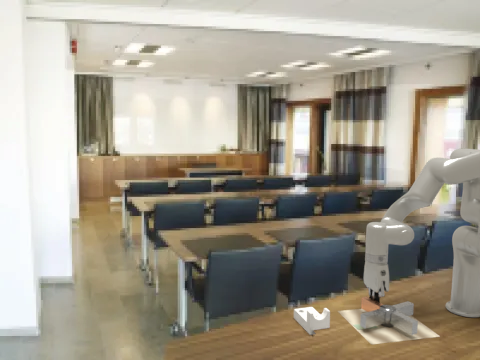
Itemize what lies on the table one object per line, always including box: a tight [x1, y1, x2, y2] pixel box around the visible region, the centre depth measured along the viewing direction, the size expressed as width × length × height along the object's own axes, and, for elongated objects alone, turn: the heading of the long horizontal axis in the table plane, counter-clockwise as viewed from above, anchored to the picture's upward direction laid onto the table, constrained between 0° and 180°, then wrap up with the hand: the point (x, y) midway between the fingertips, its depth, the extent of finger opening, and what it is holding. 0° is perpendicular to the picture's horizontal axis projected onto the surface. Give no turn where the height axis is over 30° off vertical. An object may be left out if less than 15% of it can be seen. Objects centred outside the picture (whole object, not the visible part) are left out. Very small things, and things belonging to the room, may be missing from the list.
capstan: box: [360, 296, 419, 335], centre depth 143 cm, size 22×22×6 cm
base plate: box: [337, 308, 441, 345], centre depth 145 cm, size 24×24×2 cm
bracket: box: [293, 306, 331, 336], centre depth 146 cm, size 13×7×8 cm, turn 17°
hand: (374, 307), depth 152 cm, fingers closed
